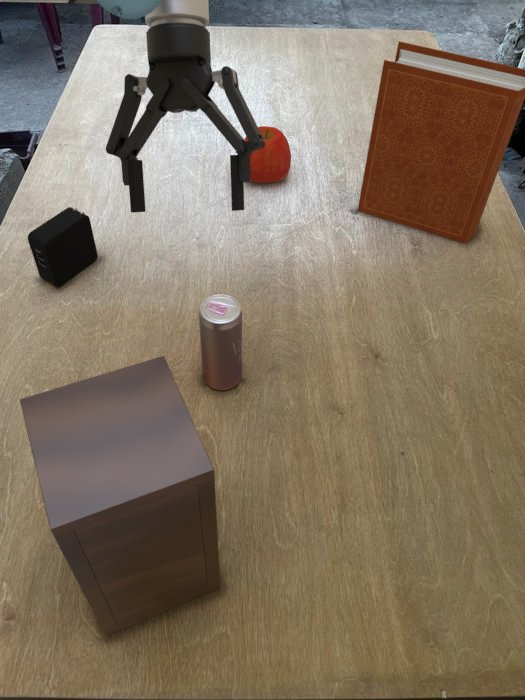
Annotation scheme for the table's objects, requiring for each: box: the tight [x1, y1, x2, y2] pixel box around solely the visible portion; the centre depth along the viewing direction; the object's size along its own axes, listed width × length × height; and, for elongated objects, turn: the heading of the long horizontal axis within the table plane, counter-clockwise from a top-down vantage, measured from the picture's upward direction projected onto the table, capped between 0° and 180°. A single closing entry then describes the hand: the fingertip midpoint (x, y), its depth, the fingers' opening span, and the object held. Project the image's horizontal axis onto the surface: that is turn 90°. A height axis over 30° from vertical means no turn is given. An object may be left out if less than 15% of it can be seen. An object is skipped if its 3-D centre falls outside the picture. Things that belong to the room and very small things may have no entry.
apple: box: [243, 125, 292, 184], centre depth 128 cm, size 11×11×11 cm
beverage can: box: [198, 293, 243, 391], centre depth 90 cm, size 6×6×15 cm
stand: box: [19, 355, 221, 637], centre depth 66 cm, size 14×14×28 cm
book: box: [357, 40, 525, 244], centre depth 113 cm, size 23×8×30 cm, turn 65°
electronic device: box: [27, 206, 99, 288], centre depth 107 cm, size 4×10×10 cm, turn 145°
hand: (187, 211), depth 79 cm, fingers open, 13 cm apart
